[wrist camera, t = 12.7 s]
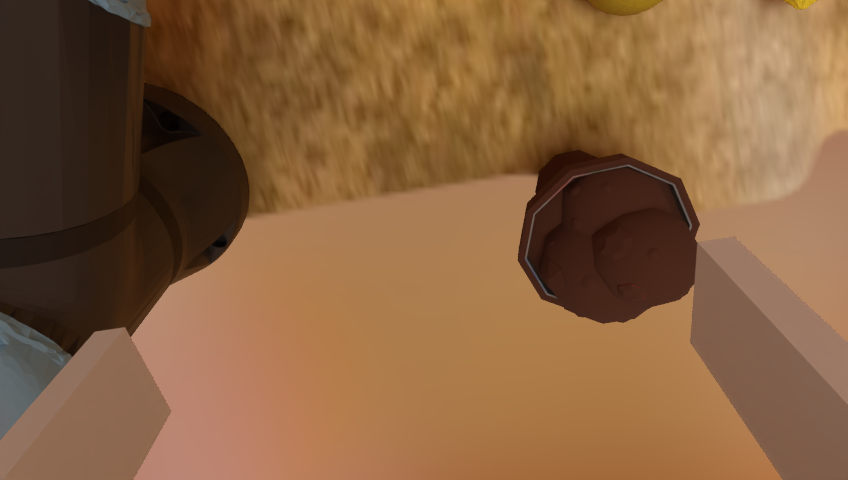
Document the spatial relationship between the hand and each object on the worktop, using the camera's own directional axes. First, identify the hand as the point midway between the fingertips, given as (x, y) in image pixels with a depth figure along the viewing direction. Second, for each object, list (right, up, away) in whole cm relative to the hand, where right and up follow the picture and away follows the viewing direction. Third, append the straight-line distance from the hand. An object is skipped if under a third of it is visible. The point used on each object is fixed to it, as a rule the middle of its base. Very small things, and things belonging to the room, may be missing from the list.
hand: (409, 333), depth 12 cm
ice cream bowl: (+12, +7, +29) cm, 32 cm away
